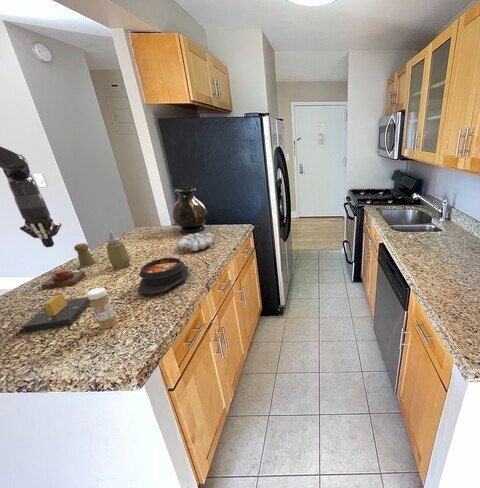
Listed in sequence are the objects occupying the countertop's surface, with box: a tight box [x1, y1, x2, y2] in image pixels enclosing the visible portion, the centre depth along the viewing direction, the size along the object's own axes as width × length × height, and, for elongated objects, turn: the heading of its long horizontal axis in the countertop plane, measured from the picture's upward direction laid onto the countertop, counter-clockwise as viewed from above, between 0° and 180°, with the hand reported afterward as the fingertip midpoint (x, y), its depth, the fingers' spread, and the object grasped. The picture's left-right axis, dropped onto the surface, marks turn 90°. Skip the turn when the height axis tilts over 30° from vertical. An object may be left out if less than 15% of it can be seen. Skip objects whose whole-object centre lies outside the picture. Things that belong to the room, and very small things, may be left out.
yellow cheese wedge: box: [42, 292, 68, 316], centre depth 90 cm, size 6×2×5 cm, turn 13°
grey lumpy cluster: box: [175, 232, 215, 252], centre depth 151 cm, size 22×21×6 cm
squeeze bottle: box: [106, 231, 131, 270], centre depth 124 cm, size 8×8×18 cm
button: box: [54, 269, 68, 277], centre depth 112 cm, size 4×4×2 cm
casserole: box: [137, 257, 190, 295], centre depth 112 cm, size 25×19×8 cm
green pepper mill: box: [73, 242, 97, 268], centre depth 128 cm, size 6×6×11 cm
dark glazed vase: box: [171, 187, 209, 234], centre depth 175 cm, size 22×22×28 cm
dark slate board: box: [22, 296, 91, 334], centre depth 91 cm, size 12×14×3 cm
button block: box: [40, 270, 86, 290], centre depth 113 cm, size 11×9×4 cm
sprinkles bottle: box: [86, 287, 118, 330], centre depth 85 cm, size 5×5×13 cm
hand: (49, 246), depth 107 cm, fingers closed
